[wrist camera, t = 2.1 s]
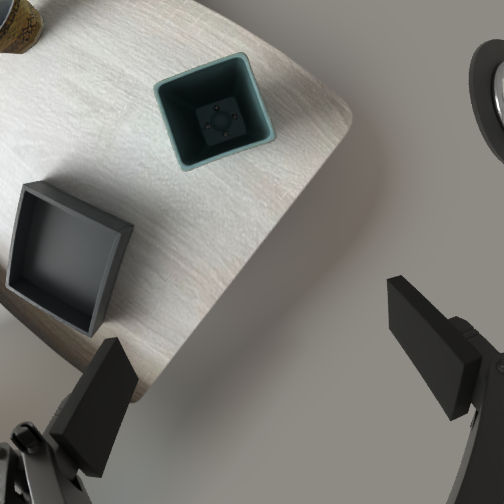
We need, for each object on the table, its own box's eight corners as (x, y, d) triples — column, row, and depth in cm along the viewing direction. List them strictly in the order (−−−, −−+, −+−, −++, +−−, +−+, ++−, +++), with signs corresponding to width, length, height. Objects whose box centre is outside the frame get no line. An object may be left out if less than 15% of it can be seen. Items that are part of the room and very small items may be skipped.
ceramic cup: (48, -7, 27) (13, -31, 17) (58, 38, 29) (17, 17, 20) (-12, 43, 28) (-52, 32, 18) (-5, 89, 31) (-49, 83, 21)
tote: (134, 225, 37) (121, 233, 33) (103, 323, 41) (91, 338, 37) (41, 180, 35) (22, 183, 31) (21, 276, 39) (5, 286, 35)
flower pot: (172, 100, 33) (150, 84, 25) (245, 74, 33) (245, 49, 24) (196, 169, 36) (181, 173, 27) (270, 144, 35) (278, 139, 26)
